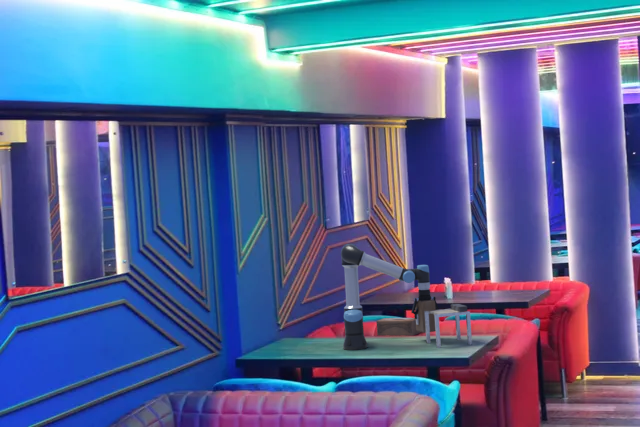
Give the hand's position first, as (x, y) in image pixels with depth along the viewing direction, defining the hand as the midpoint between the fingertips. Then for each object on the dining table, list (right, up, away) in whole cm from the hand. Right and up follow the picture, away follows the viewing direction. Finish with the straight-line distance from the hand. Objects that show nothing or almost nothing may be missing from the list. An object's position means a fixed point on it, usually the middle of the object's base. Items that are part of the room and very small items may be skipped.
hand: (426, 323), depth 609 cm
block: (0, -5, 0) cm, 5 cm away
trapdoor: (+12, +9, -19) cm, 24 cm away
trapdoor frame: (+12, -10, -19) cm, 25 cm away
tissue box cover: (-14, -12, +36) cm, 40 cm away
